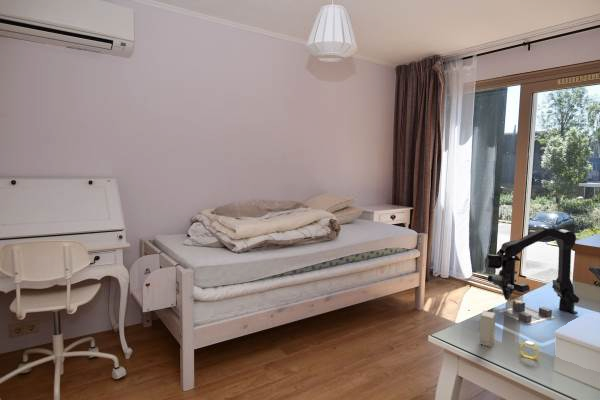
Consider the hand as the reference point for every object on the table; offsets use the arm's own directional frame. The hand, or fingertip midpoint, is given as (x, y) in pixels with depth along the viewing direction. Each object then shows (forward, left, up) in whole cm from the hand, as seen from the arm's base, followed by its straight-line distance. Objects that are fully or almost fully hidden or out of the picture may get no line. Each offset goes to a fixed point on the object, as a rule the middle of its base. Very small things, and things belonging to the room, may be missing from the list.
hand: (506, 299), depth 181 cm
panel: (0, +10, -5) cm, 11 cm away
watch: (+33, +34, -5) cm, 48 cm away
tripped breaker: (0, +6, -3) cm, 7 cm away
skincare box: (+38, +20, -5) cm, 44 cm away
